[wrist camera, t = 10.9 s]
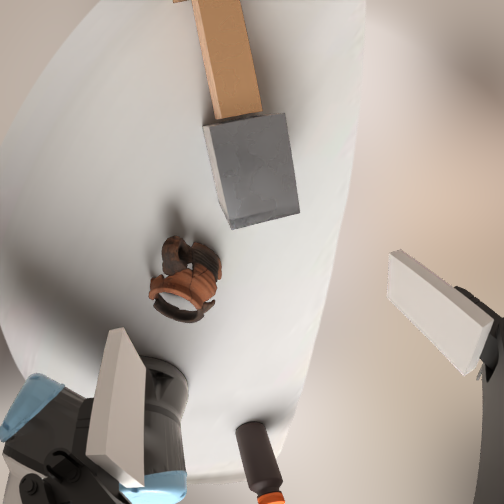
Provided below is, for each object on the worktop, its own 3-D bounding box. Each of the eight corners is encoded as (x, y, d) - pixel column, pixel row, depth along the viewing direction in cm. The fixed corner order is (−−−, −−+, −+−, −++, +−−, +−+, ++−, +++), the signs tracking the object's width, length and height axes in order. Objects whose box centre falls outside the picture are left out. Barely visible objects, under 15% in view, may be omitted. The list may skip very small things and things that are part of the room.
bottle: (234, 424, 58) (254, 504, 40) (265, 418, 59) (291, 496, 41) (235, 439, 61) (254, 513, 43) (264, 434, 62) (288, 506, 44)
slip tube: (214, 119, 32) (221, 118, 27) (185, -26, 23) (186, -50, 18) (250, 112, 33) (264, 110, 27) (220, -31, 24) (227, -54, 19)
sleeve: (219, 203, 39) (231, 230, 30) (202, 126, 34) (209, 126, 25) (272, 190, 39) (300, 213, 30) (258, 114, 35) (284, 112, 26)
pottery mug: (234, 280, 44) (220, 329, 38) (177, 280, 47) (158, 324, 41) (208, 214, 36) (185, 264, 31) (144, 220, 39) (116, 265, 33)
